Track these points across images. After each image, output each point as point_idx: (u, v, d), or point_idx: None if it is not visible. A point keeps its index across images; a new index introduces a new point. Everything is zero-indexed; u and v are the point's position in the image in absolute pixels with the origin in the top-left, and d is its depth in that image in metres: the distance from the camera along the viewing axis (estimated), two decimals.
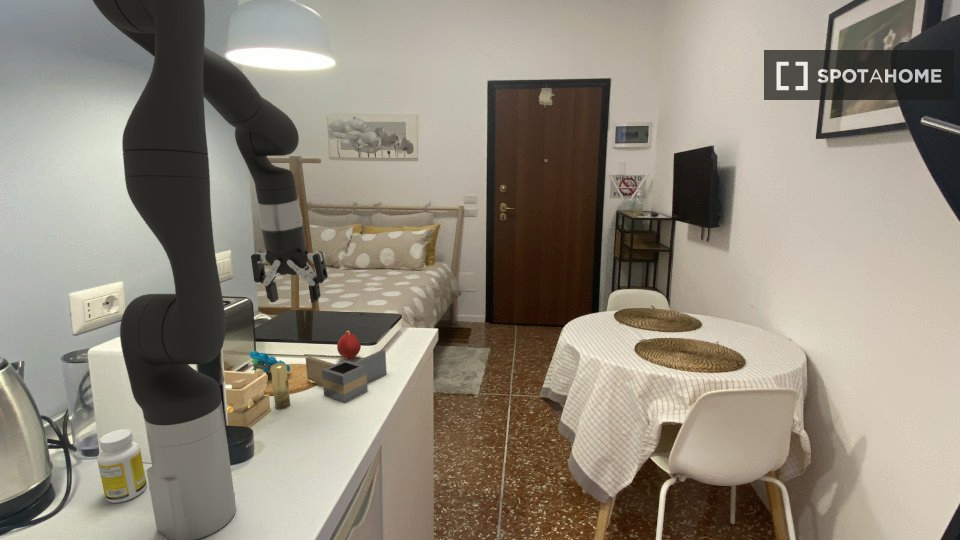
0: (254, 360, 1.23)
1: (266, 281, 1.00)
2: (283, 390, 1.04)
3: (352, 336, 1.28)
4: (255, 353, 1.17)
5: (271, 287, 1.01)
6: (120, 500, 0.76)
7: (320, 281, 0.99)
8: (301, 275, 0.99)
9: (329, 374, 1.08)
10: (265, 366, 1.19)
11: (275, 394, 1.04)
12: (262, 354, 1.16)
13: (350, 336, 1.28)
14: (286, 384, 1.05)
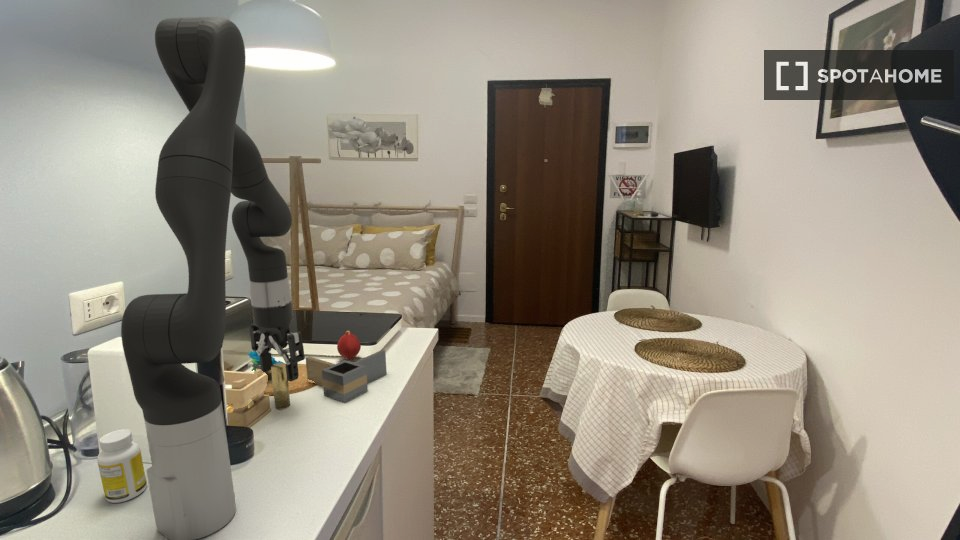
0: (254, 360, 1.22)
1: (258, 351, 1.05)
2: (283, 390, 1.04)
3: (352, 336, 1.28)
4: (254, 353, 1.17)
5: (263, 357, 1.06)
6: (120, 500, 0.76)
7: (292, 362, 0.99)
8: (279, 352, 1.01)
9: (329, 374, 1.08)
10: None
11: (275, 394, 1.04)
12: None
13: (350, 336, 1.28)
14: (286, 384, 1.05)
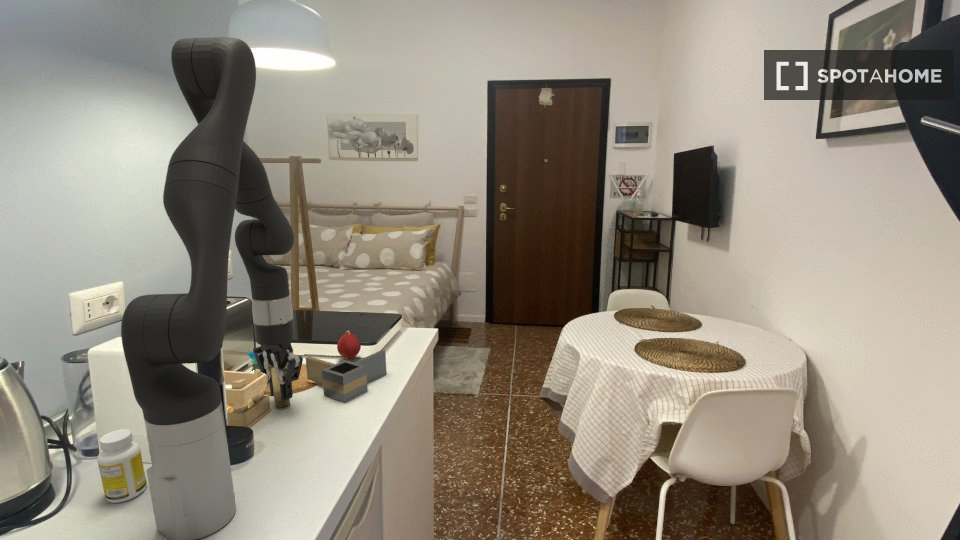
0: (253, 360, 1.22)
1: (267, 375, 1.05)
2: None
3: (352, 336, 1.28)
4: (253, 353, 1.17)
5: None
6: (120, 500, 0.76)
7: (286, 381, 1.01)
8: (276, 370, 1.02)
9: (329, 374, 1.08)
10: None
11: (275, 394, 1.04)
12: None
13: (350, 336, 1.28)
14: None
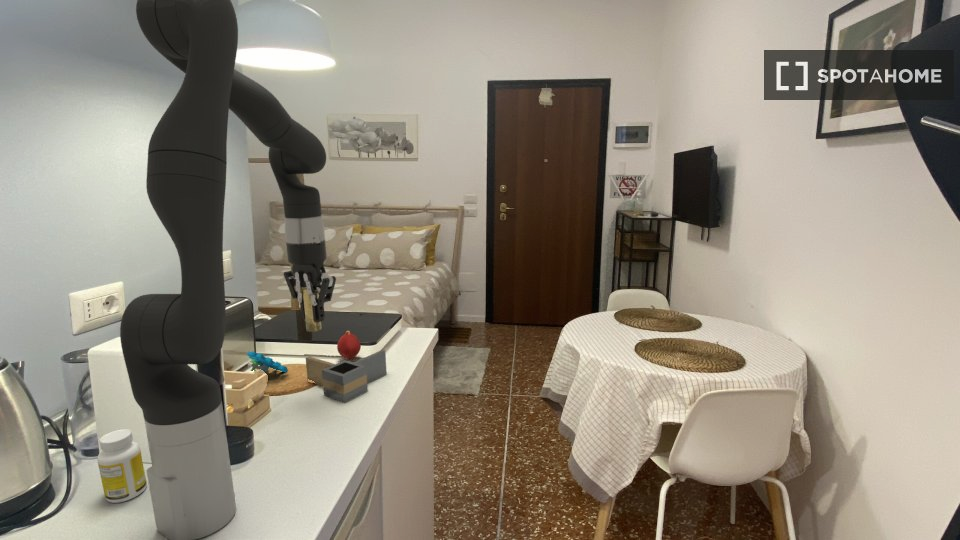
0: (253, 360, 1.22)
1: (299, 298, 1.05)
2: None
3: (352, 336, 1.28)
4: (252, 353, 1.16)
5: (303, 305, 1.05)
6: (120, 500, 0.76)
7: (319, 302, 1.02)
8: (309, 291, 1.02)
9: (329, 374, 1.08)
10: (262, 367, 1.19)
11: (307, 316, 1.05)
12: (259, 355, 1.16)
13: (350, 336, 1.28)
14: None
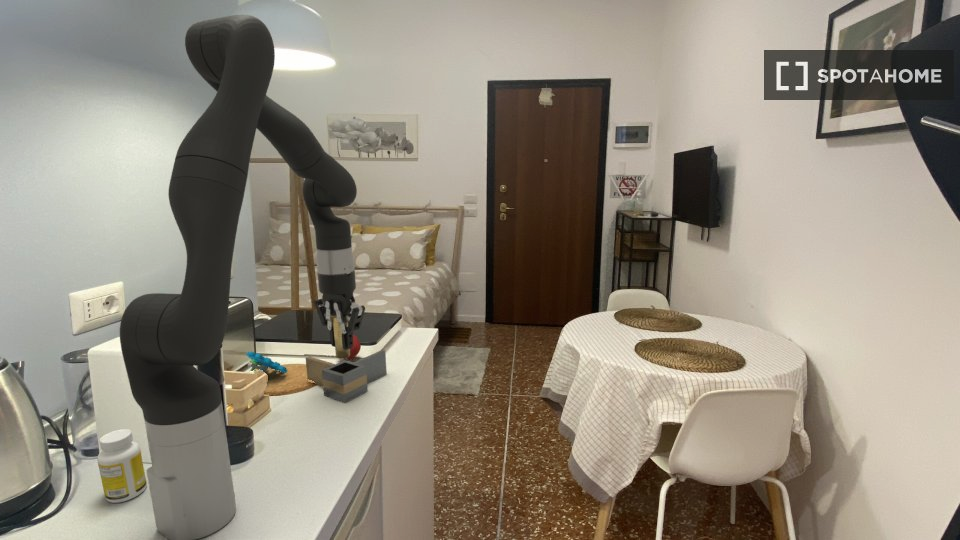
0: (253, 360, 1.22)
1: (328, 325, 1.08)
2: None
3: None
4: (251, 354, 1.16)
5: (333, 332, 1.09)
6: (120, 500, 0.76)
7: (349, 330, 1.05)
8: (339, 320, 1.05)
9: (329, 374, 1.08)
10: (262, 367, 1.18)
11: (336, 344, 1.08)
12: (258, 355, 1.16)
13: None
14: None
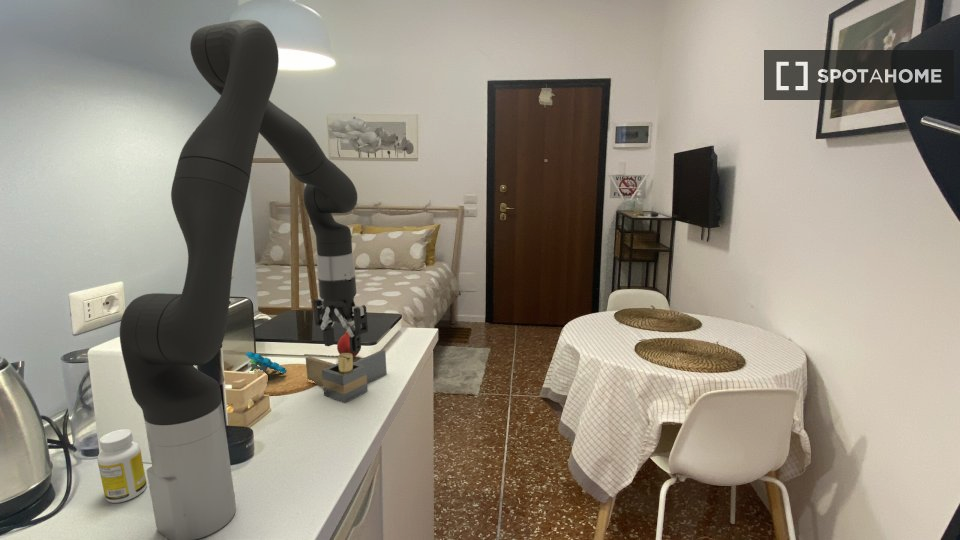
0: (252, 360, 1.22)
1: (322, 325, 1.09)
2: None
3: None
4: (250, 354, 1.16)
5: (326, 332, 1.10)
6: (120, 500, 0.76)
7: (357, 334, 1.04)
8: (343, 324, 1.05)
9: (329, 374, 1.08)
10: (261, 367, 1.18)
11: None
12: (257, 355, 1.15)
13: None
14: None
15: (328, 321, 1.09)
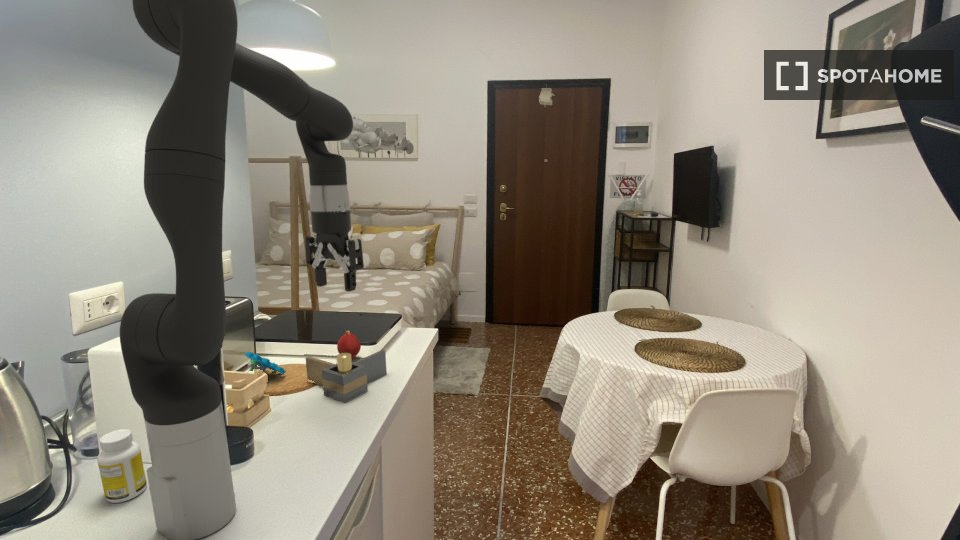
0: (252, 360, 1.22)
1: (314, 264, 1.04)
2: None
3: (352, 336, 1.28)
4: (249, 354, 1.16)
5: (318, 271, 1.04)
6: (120, 500, 0.76)
7: (352, 269, 0.98)
8: (337, 260, 0.99)
9: (329, 374, 1.08)
10: (260, 367, 1.18)
11: None
12: (255, 355, 1.15)
13: (350, 336, 1.28)
14: None
15: (320, 259, 1.03)
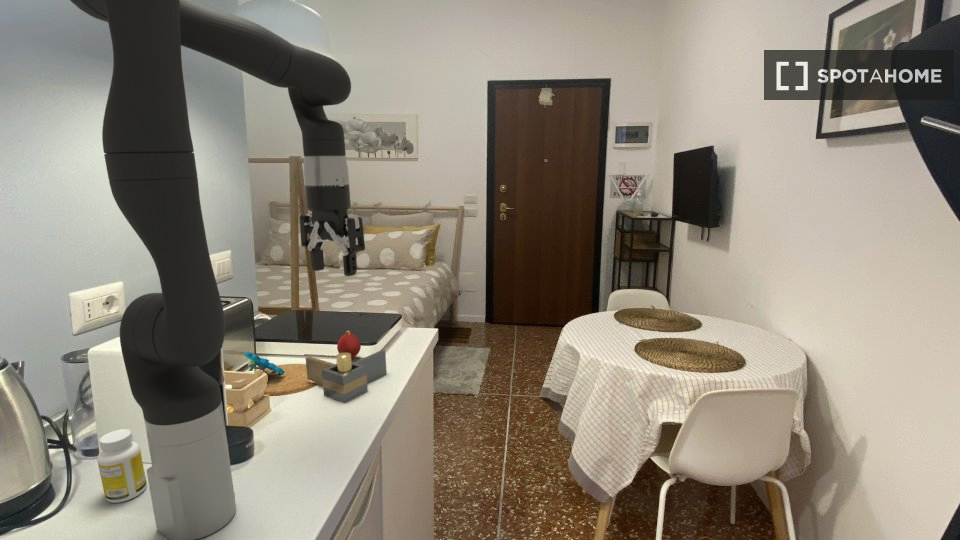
0: (251, 360, 1.22)
1: (310, 245, 0.93)
2: None
3: (352, 336, 1.28)
4: (248, 354, 1.16)
5: (314, 253, 0.93)
6: (120, 500, 0.76)
7: (352, 250, 0.87)
8: (336, 240, 0.88)
9: (329, 374, 1.08)
10: (259, 367, 1.18)
11: None
12: (254, 356, 1.15)
13: (350, 336, 1.28)
14: None
15: (317, 240, 0.92)
